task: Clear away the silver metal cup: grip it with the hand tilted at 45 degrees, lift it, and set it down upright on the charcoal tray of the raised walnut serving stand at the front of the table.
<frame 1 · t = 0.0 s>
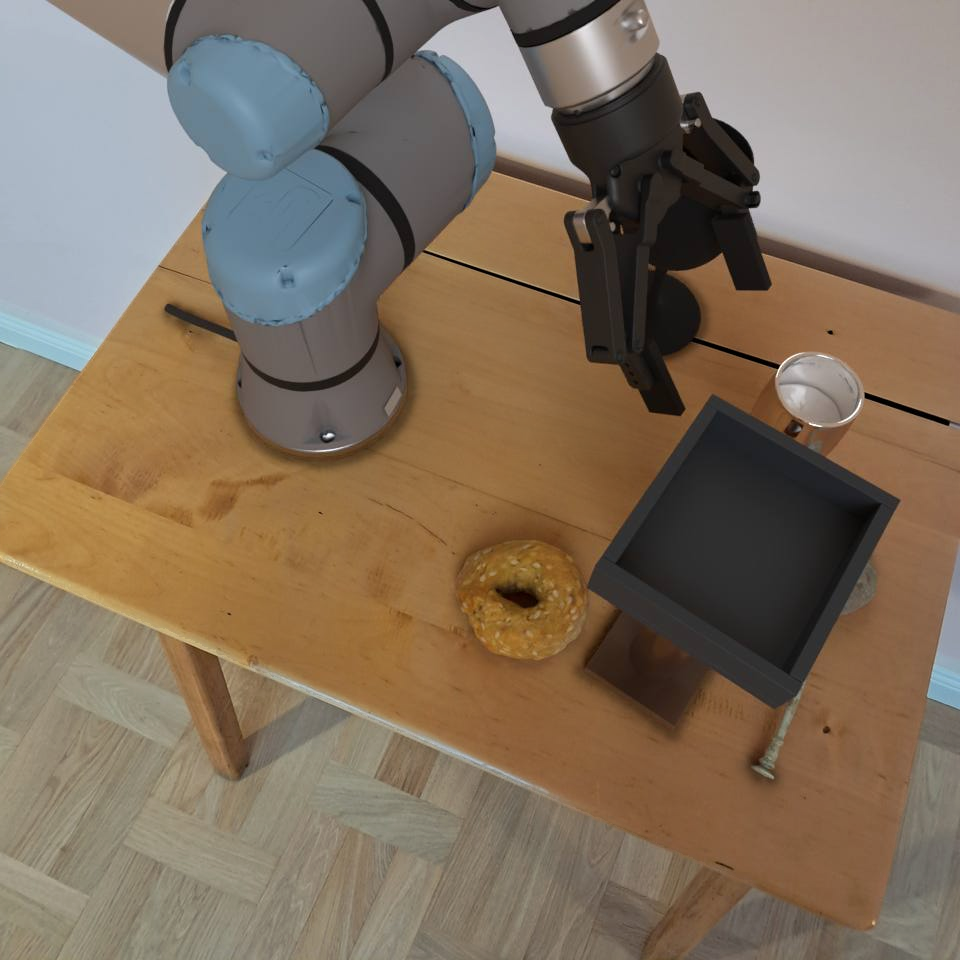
hand: (712, 347, 65), 15 cm above the table, tool tilted 35°, fingers open, 13 cm apart
tray: (733, 555, 49), resting on stand
stand: (652, 659, 70), on the table
soupspoon: (802, 651, 71), on the table
silver metal cup: (756, 479, 77), on the table
bagel: (519, 604, 72), on the table
wine glass: (647, 314, 85), on the table
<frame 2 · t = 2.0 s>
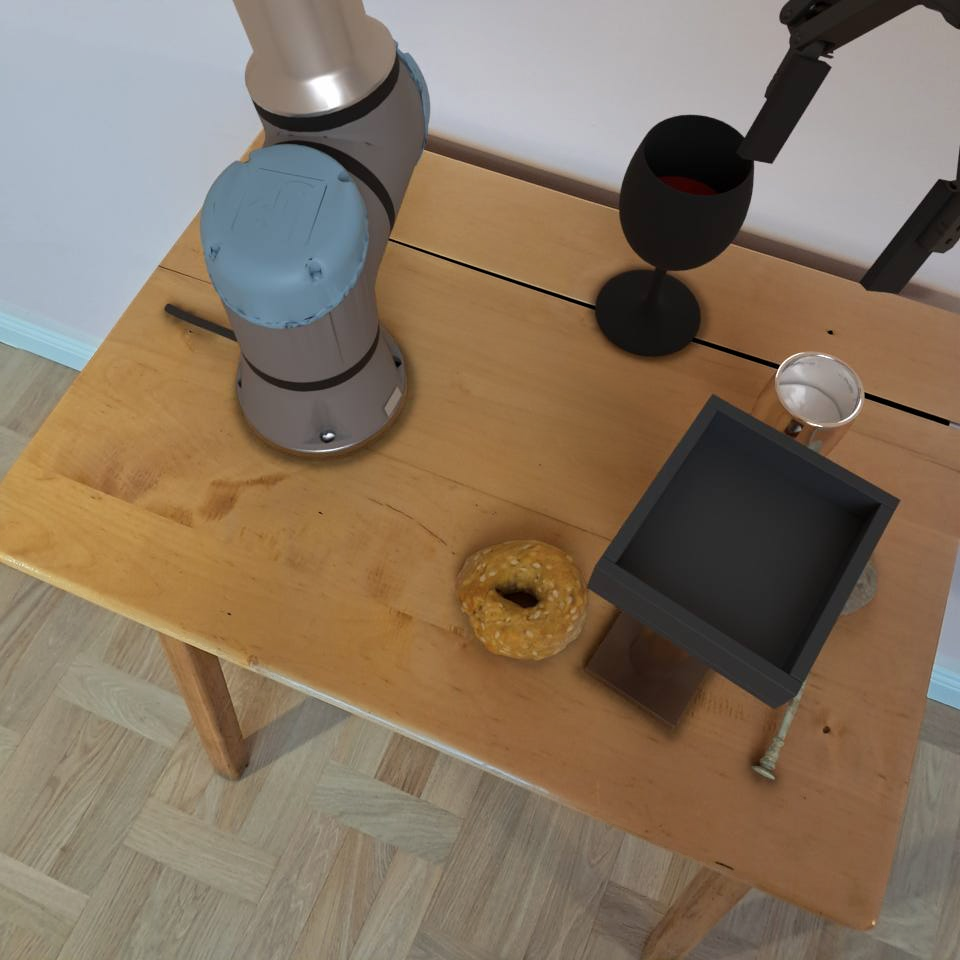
hand: (811, 219, 53), 29 cm above the table, tool tilted 25°, fingers open, 13 cm apart
nothing on the table moved.
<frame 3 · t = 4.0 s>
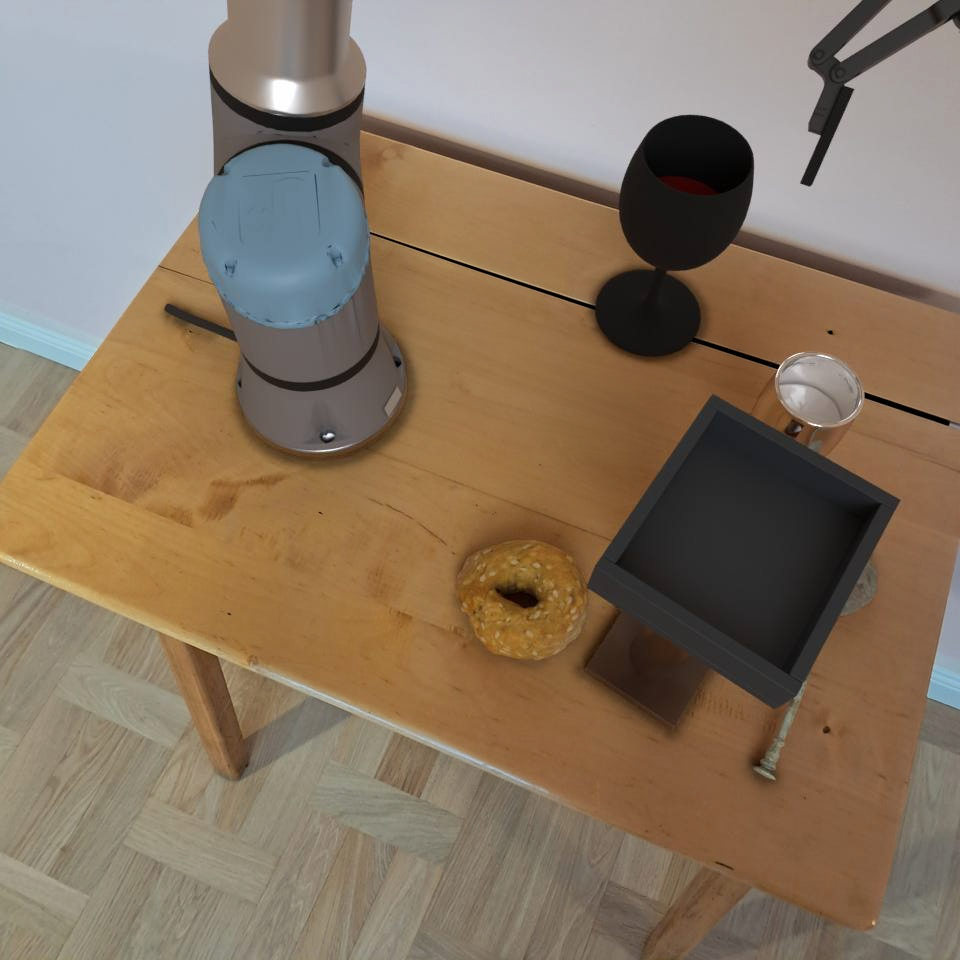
hand: (898, 216, 61), 22 cm above the table, tool tilted 45°, fingers open, 13 cm apart
nothing on the table moved.
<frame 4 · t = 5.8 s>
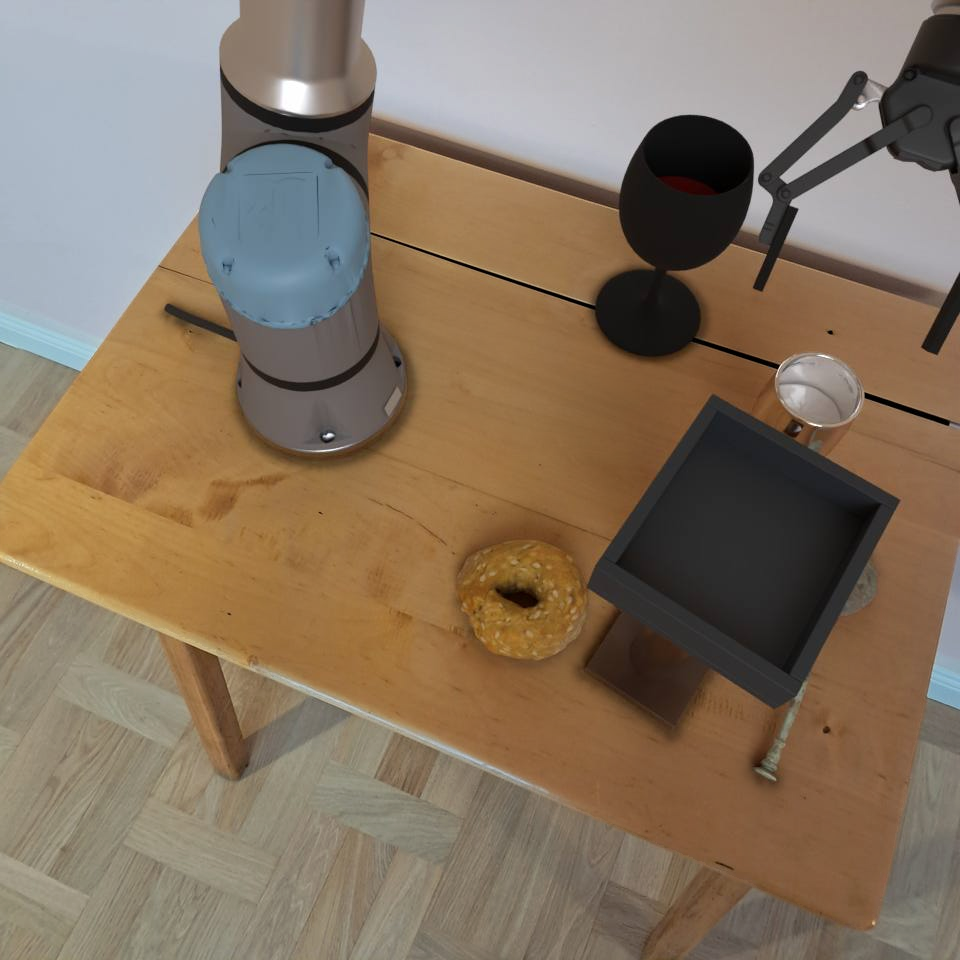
hand: (841, 320, 68), 14 cm above the table, tool tilted 45°, fingers open, 13 cm apart
nothing on the table moved.
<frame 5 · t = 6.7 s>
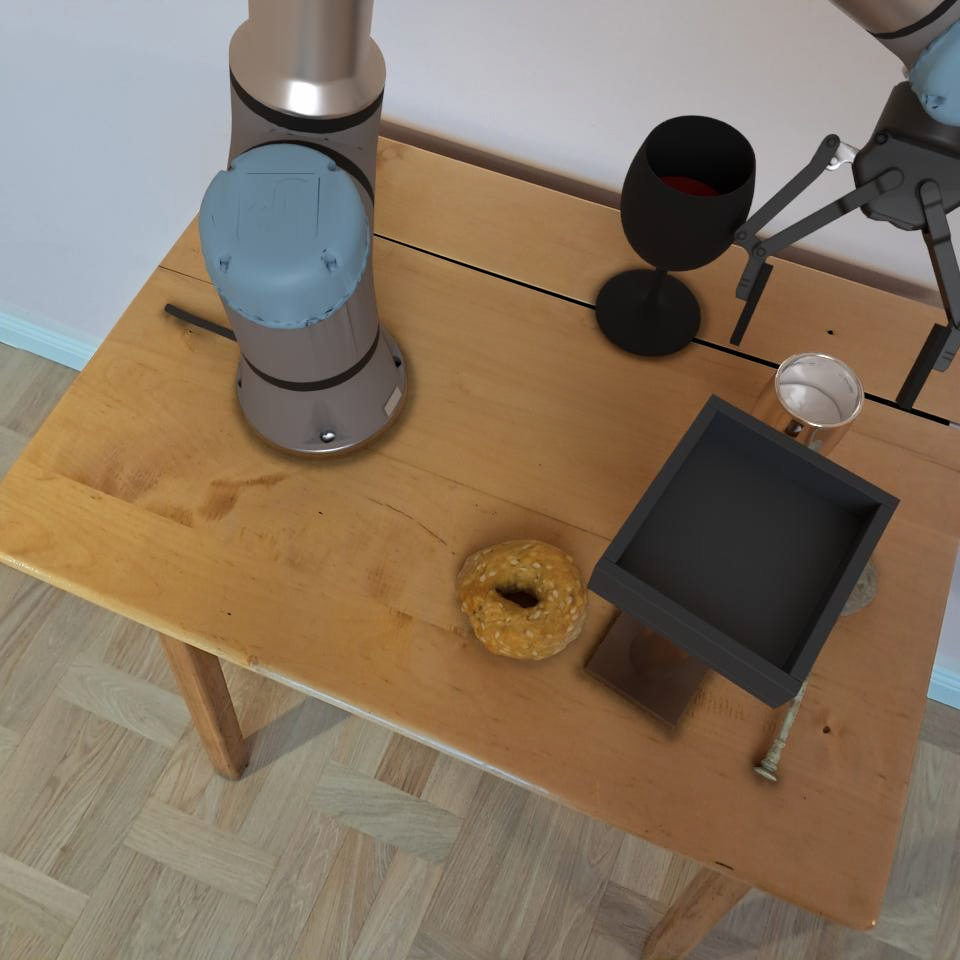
hand: (816, 374, 69), 11 cm above the table, tool tilted 45°, fingers open, 13 cm apart
nothing on the table moved.
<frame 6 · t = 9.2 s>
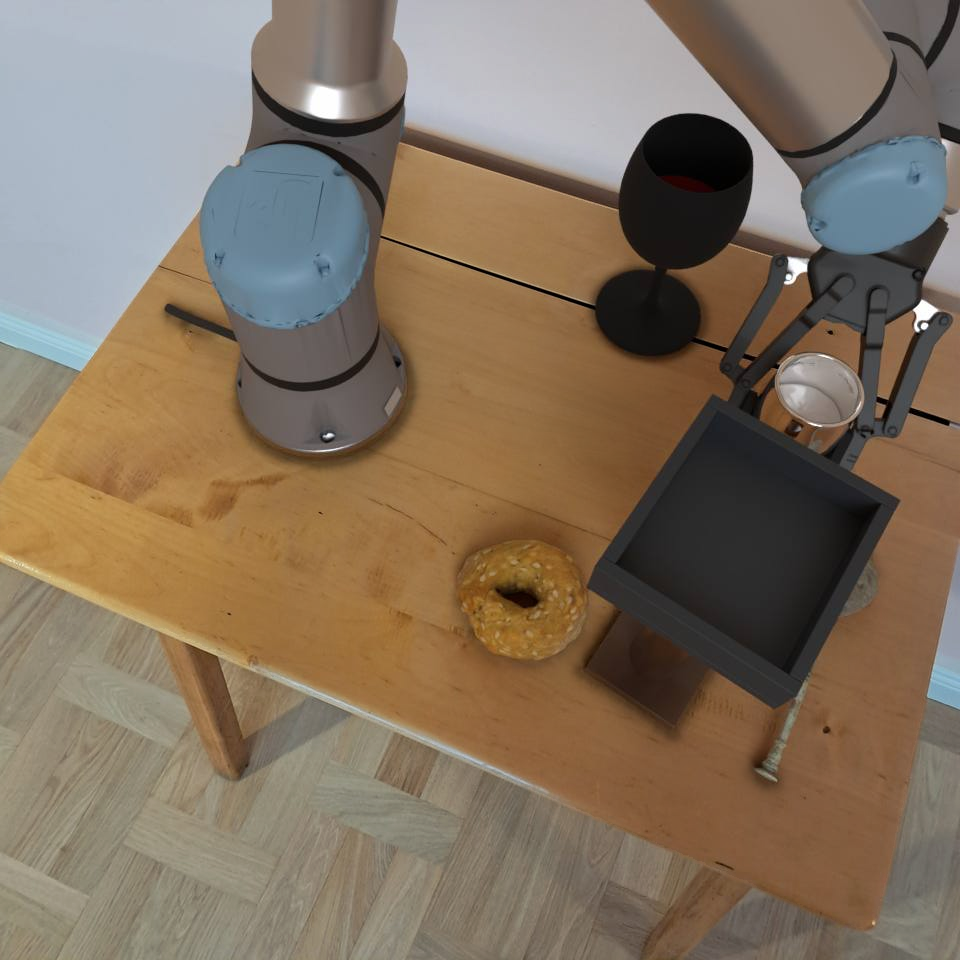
hand: (764, 483, 71), 5 cm above the table, tool tilted 45°, fingers closed on silver metal cup, 7 cm apart
silver metal cup: (755, 479, 77), on the table, touching gripper
everything else where it was.
when the fingers open (29 cm above the table, at t = 18.3 s): silver metal cup stays where it is, resting on tray.
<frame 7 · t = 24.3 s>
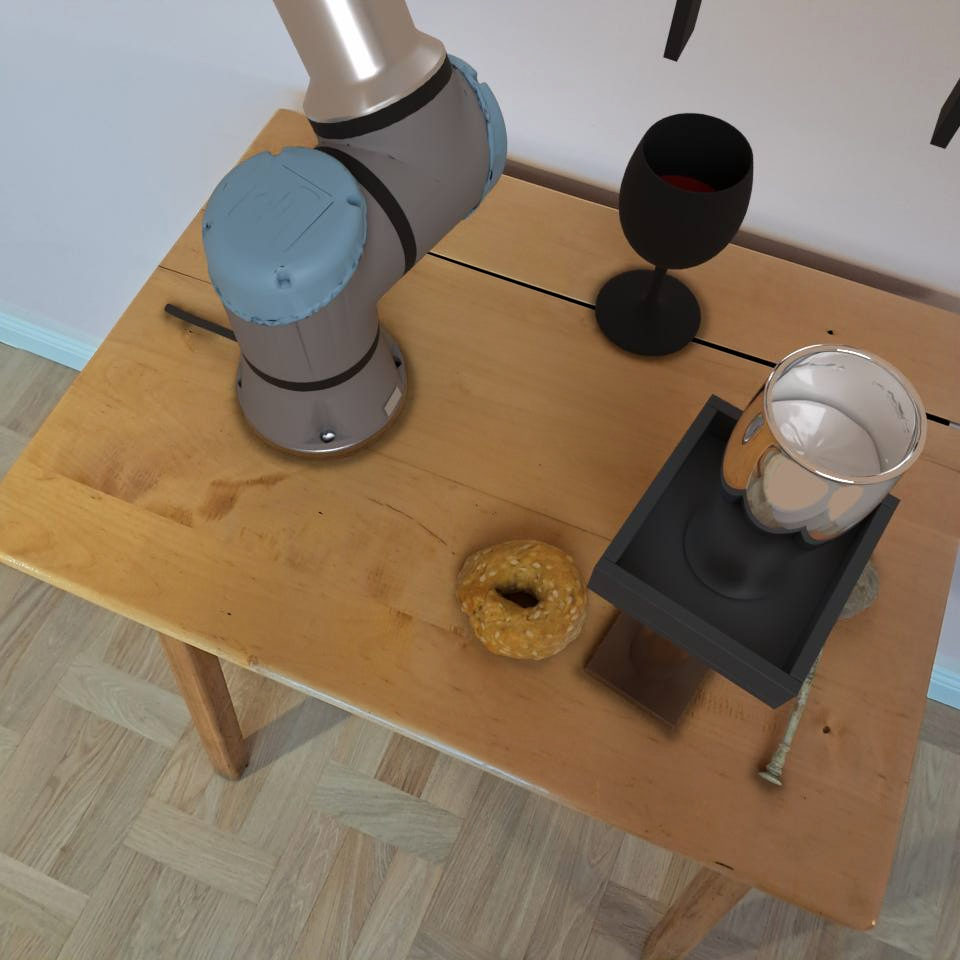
hand: (807, 85, 43), 39 cm above the table, tool pointing down, fingers open, 13 cm apart
silver metal cup: (736, 550, 49), point 24 cm above the table, touching tray
everything else where it was.
at the end: silver metal cup inside the target area on the tray (0.1 cm from its centre), point 0.6 cm above the tray's base; silver metal cup tilted 0°; the gripper is holding nothing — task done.
